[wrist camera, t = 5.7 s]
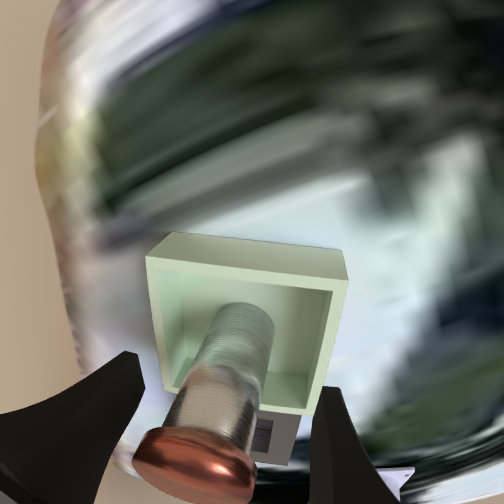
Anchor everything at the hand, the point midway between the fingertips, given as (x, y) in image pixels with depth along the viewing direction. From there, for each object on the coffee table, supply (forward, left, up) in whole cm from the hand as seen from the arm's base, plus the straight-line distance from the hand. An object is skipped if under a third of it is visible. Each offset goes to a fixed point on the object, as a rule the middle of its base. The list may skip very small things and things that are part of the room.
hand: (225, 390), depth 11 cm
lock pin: (-1, 0, -5) cm, 5 cm away
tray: (0, 0, -5) cm, 5 cm away
